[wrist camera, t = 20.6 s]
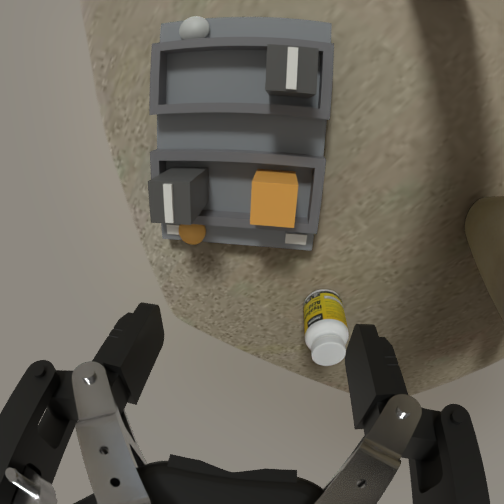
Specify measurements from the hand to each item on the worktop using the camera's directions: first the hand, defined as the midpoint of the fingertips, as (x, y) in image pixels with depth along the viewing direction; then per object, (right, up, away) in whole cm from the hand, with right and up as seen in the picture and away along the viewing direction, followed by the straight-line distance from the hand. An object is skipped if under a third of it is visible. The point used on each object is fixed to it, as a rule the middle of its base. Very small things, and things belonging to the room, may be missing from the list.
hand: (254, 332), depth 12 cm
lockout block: (+2, +10, +20) cm, 22 cm away
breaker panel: (-1, +17, +19) cm, 25 cm away
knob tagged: (-7, +11, +20) cm, 24 cm away
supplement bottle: (+10, -4, +28) cm, 30 cm away
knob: (+4, +20, +14) cm, 25 cm away
